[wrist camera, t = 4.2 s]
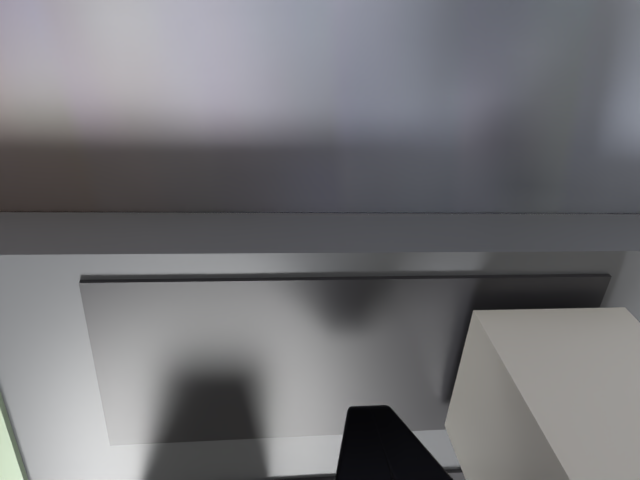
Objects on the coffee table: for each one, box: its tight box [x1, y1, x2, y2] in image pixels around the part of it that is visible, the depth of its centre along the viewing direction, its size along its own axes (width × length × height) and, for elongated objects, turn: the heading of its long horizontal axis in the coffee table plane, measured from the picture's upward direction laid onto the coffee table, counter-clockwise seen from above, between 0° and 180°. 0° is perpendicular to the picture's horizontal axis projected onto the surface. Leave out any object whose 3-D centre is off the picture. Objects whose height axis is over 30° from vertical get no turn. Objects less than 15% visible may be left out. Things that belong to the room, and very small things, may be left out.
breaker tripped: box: [445, 307, 640, 480], centre depth 9 cm, size 3×3×5 cm
